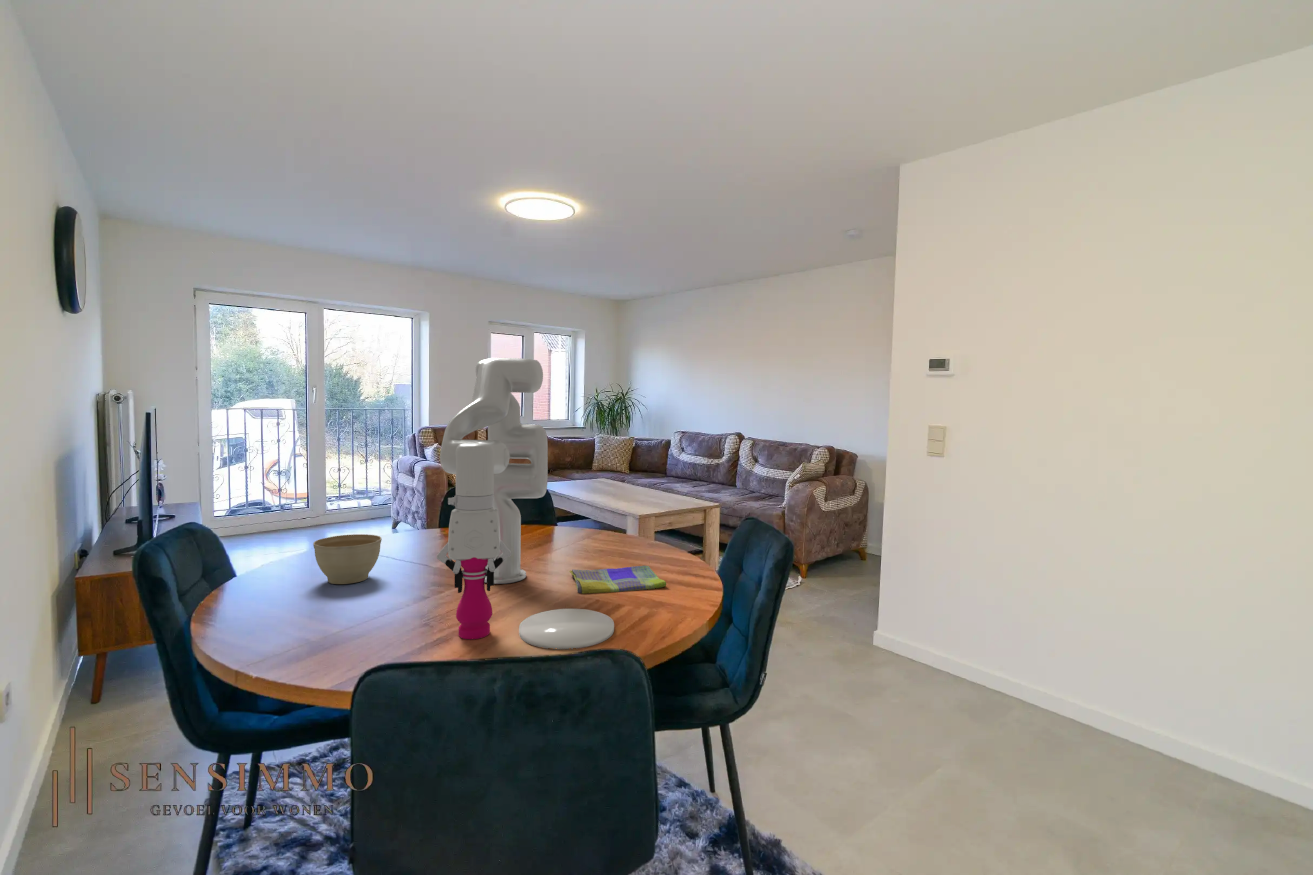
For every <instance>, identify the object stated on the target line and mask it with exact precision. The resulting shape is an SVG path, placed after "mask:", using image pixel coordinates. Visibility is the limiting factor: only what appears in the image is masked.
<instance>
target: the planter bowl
mask: <svg viewBox="0 0 1313 875" xmlns="http://www.w3.org/2000/svg"><path fill="white" fill-rule="evenodd" d="M382 541H383V540H382V537H381V536H379V535H376V534H355V533H354V534H342V535H334V536H329V537H324V538H323V537H322V538H319V539H317V540H315V541H314V542H313V544H312V545H313V548H314V557H315V560H316V563H317V566H318V567H319V569H320V571H321V572H322V573H323V575H325V577H327V582H328V583H329V584H332V585H348V584H355V583H359V582H363V581H365V580H368V578H369V574H370V572H371V571H372V570H373V568H374V567H375V566H376V564H377V561H378V558H379V555H380V552H381V544H382Z"/></svg>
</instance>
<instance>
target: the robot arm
mask: <svg viewBox="0 0 1313 875" xmlns="http://www.w3.org/2000/svg"><path fill="white" fill-rule="evenodd" d="M475 376H476V378H475V384H474V387H473V388H474V389H473V394H472V400H471V402H470V404H468V405H466V406H465V407H464V408H462V409H461V410H460V411H458V412H457V413H456V414H455V415H454V416H453V417H452V418H451V419H450V421H449V422H447V425H446V428H445V429H444V433H443V437H442V442H441V447H440V452H439V454H440V455H439V461H440V466H441V468H442V470H443V471H444V472H445V473H448V474H449V475H455V495H453V496H454V497H453V496H452V497H448V498H447V504H448V505H451V506H453V507H454V509H452V510H451V512H450V518H449V524H448V538H447V539H448V541H447V543H446V544H445V545H444V546H443V547H442V548H441V550H440V551H439V552H438V553H437V555H436V559H437V560H439V561H440V562H441V563H443V564H444V565H445V566H446V567H447V568H448V569H450V570H451V572H452V573H453V575H454V589H457V594H461V593H463V578H462V566H461V560H468V559H471V558H473V557H475V558H478V559H488V563H487V564H488V565H487V566H486V567H485V568H486V569H487V576H486V577H485V582H484V583H486V591H487V592H490V591H491V587H493V586H494V585H495V584H496V585H500V584H503V585H504V584H511V583H512V584H513V583H516V582H519V581H522V580H524V579H525V578H526V577H527V571H525V570H524V569H523V568H521V554H522V553H521V547H522V546H521V542H522V540H521V536H522V535H521V533H522V532H521V531H522V530H521V529H522V527H521V526H522V525H521V524H522V517H521V516H522V515H521V512H520V509H519V508H518V506H517V505H516V504H515V503H514V501H513V500H514V499H515V500H516V499H539V498H543V497H544V496H545V495H546V493H547V489H548V472H549V471H548V462H549V461H548V460H549V458H548V452H549V451H548V444H549V443H548V434H547V432H546V430H545V428H544V427H543V426H542V425H539V424H534V423H533V424H532V423H527V424H526V423H521V405H520V403H519V402H518V400H517V398H516V397H515V396H514V394H512V393H528V394H529V393H531V394H533V393H536V392H538V391H539V390H540V389H541V387H542V385H543V380H544V372H543V367H542V364H541V363H540V361H538V360H537V359H531V358H522V357H520V358H517V357H513V358H512V357H489V358H486V359H482V360H480V361H478V362H477V363H476V365H475ZM483 428H487V439H463V438H464V437H466V436H468V435H469V434H471V433H473V432H475V431H478V430H480V429H483ZM510 459H512V460H513V459H518V460H519V459H520V460H521V459H523V460H524V459H527V460H529V461H530V463H512V462H511V463H510ZM512 499H513V500H512ZM447 555H448V556H447Z"/></svg>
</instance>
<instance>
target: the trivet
mask: <svg viewBox="0 0 1313 875" xmlns="http://www.w3.org/2000/svg"><path fill="white" fill-rule="evenodd" d="M614 632H615V623H614V620H613V619H612V618H611V616H609V615H607V614H604V613H602V612H600V611H596V610H591V609H585V608H558V609H551V610H545V611H541V612H538V613H535V614H531V615H529V616H528V617H525V619H523V620H522V621H521V622H520V623H519V626H518V635H519V637H520V639H521V640H522V641H524V642H525V643H526V644H529V645H530V646H531V645H532V646H534V647H537V648H541V647H543V648H542V649H548V648H553V649H552V650H574V649H573V648H576V649H583V648H587V647H592V646H595V645H598V644H601V643H603V642H605V641H607V640H608V639H609V638H611V637H612V636H613V635H614ZM555 648H557V649H555ZM569 648H571V649H569Z"/></svg>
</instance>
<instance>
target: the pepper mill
mask: <svg viewBox="0 0 1313 875" xmlns="http://www.w3.org/2000/svg"><path fill="white" fill-rule="evenodd" d="M487 563H488V559H478V558H475V557H473V558H471V559H468V560H461V568H463V569H461V571H462V579H463V580H464V589H463V591H462V595H461V598H460V599H459V603H458V604H457V608H456V614H455V618H456V619H457V621H458V622H459V623H460V625H459V626H458V636H459V638H461V639H464V640H479V639H483V638H485V637H487V636H488V635H490V633H491V624H490V622H489V621H490V619H491V618H492V617H493V606H492V603H491V601H490V599H489V596H488V595H487V592H486V587H485V583H486V582H485V577H486V576H487V569H486V568H485V567H486V566H487V565H488V564H487Z"/></svg>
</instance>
